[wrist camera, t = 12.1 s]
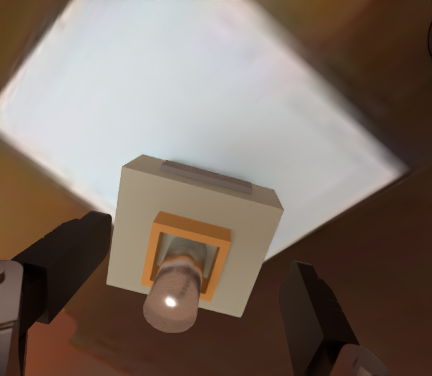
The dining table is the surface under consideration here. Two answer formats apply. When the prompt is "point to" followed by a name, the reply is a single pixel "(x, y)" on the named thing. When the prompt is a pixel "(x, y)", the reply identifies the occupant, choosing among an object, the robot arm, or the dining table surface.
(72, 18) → the dining table surface
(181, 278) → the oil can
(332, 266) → the dining table surface
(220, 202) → the slab with orange tray
